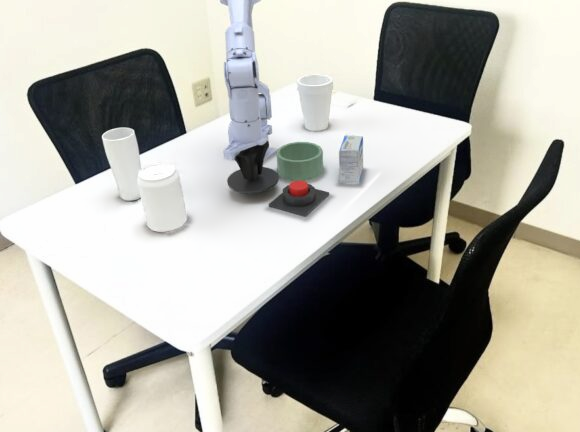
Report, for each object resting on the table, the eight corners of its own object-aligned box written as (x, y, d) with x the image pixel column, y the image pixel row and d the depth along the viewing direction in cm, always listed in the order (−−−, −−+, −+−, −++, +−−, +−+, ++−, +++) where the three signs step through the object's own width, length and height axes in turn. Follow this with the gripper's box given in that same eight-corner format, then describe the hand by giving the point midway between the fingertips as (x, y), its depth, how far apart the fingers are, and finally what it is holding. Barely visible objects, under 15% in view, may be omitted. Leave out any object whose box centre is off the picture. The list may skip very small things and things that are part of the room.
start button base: (268, 209, 117) (267, 196, 115) (293, 187, 124) (293, 176, 122) (305, 219, 113) (305, 206, 111) (329, 197, 120) (329, 184, 118)
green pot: (269, 177, 129) (267, 156, 126) (293, 159, 136) (292, 138, 133) (308, 186, 124) (307, 165, 121) (330, 167, 131) (330, 146, 128)
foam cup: (302, 119, 157) (300, 74, 150) (334, 119, 156) (334, 74, 149) (297, 133, 149) (294, 86, 142) (331, 133, 148) (330, 86, 141)
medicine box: (359, 186, 123) (359, 150, 118) (339, 185, 124) (338, 149, 119) (363, 169, 130) (363, 135, 125) (344, 168, 130) (343, 134, 126)
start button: (285, 194, 116) (285, 187, 115) (295, 186, 119) (295, 178, 118) (302, 198, 115) (301, 191, 114) (311, 190, 117) (311, 182, 116)
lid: (217, 188, 120) (214, 170, 117) (247, 166, 128) (245, 149, 125) (260, 200, 115) (258, 181, 112) (288, 177, 123) (287, 158, 120)
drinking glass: (138, 185, 128) (124, 124, 120) (154, 195, 124) (140, 132, 116) (111, 196, 124) (95, 134, 116) (127, 206, 120) (111, 143, 112)
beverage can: (144, 218, 116) (132, 167, 109) (182, 209, 118) (173, 158, 112) (151, 238, 109) (139, 184, 103) (192, 227, 112) (182, 175, 105)
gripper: (241, 134, 106) (248, 195, 113) (282, 108, 116) (286, 165, 124) (212, 127, 109) (220, 188, 117) (254, 102, 120) (260, 159, 127)
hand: (252, 176), depth 120 cm, fingers closed on lid, 2 cm apart
